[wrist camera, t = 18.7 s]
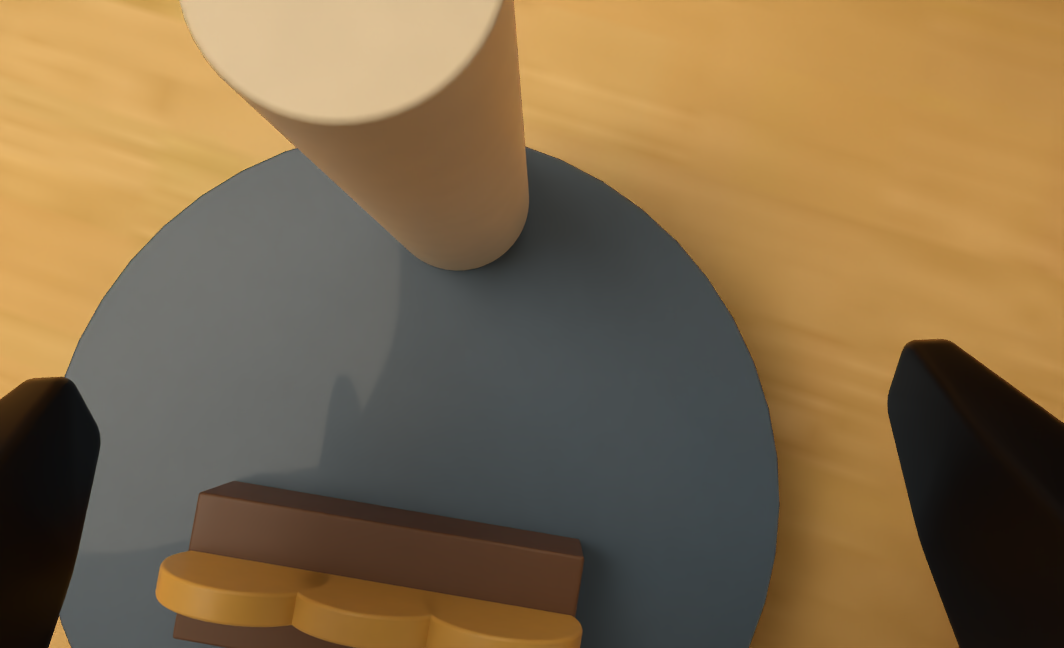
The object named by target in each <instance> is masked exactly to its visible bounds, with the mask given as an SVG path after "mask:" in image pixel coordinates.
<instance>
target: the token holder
mask: <svg viewBox="0 0 1064 648" xmlns="http://www.w3.org/2000/svg"><path fill="white" fill-rule="evenodd" d="M179 2H180V5H181V9H182V12H183V16H184V19H185V22H186V24H187V26H188V29H189V31H190V33H191V36H192V38H193V40H194V42H195V43H196V45H197V47H198V48H199V50H200V52H201V53H202V55H203V57H204V58H205V59H206V61H207V62H208V63H209V64H210V66H211V67H212V68H213V69H214V71H215V72H216V73H217V74H218V75H219V76H220V77H221V78H222V79H223V80H224V81H225V82H226V83H227V84H228V85H229V86H230V87H231V88H233V89H234V90H235V91H236V92H237V93H238V94H239V95H240V96H241V97H242V98H243V99H244V100H246V101H247V102H248V103H249V104H250V105H251V106H252V107H253V108H254V109H255V110H256V111H257V112H259V113H260V114H261V115H262V116H263V117H264V118H265V119H266V120H267V121H268V122H269V123H270V124H272V125H273V126H274V127H275V128H276V129H277V130H278V131H279V132H280V133H281V134H282V135H284V136H285V137H286V138H287V139H288V140H289V141H290V142H291V143H292V144H293V145H294V146H295V147H297V148H295V149H292V150H289V151H286V152H283V153H281V154H279V155H276V156H274V157H272V158H270V159H268V160H265V161H263V162H261V163H259V164H256V165H254V166H252V167H250V168H247V169H245V170H243V171H241V172H239V173H238V174H236V175H235V176H233V177H231V178H230V179H228V180H226V181H225V182H223V183H222V184H220V185H218V186H217V187H215V188H213V189H212V190H210V191H208V192H207V193H205V194H204V195H202V196H201V197H199V198H198V199H197V200H196V201H194V202H193V203H192V204H191V205H189V206H188V207H187V208H186V209H184V210H183V211H182V212H181V213H179V214H178V215H177V216H176V217H174V218H173V219H172V220H171V221H170V222H168V223H167V224H166V225H165V226H164V227H163V228H162V229H161V230H160V231H159V232H158V233H157V234H156V235H155V236H154V237H153V238H152V239H151V240H150V241H149V242H148V243H147V244H146V245H145V246H144V247H143V248H142V249H141V250H140V251H139V253H138V254H137V255H136V256H135V257H134V258H133V259H132V260H131V261H130V262H129V264H128V265H127V266H126V268H125V269H124V270H123V272H122V273H121V275H120V276H119V277H118V279H117V280H116V281H115V283H114V284H113V285H112V287H111V288H110V289H109V291H108V292H107V293H106V295H105V296H104V297H103V299H102V301H101V302H100V304H99V306H98V308H97V310H96V311H95V313H94V315H93V317H92V318H91V320H90V322H89V324H88V326H87V327H86V329H85V331H84V333H83V334H82V336H81V338H80V340H79V342H78V345H77V347H76V349H75V352H74V354H73V357H72V359H71V362H70V364H69V367H68V369H67V372H66V374H65V377H64V378H68V379H70V380H71V381H72V382H74V384H75V385H76V387H77V388H78V390H79V392H80V394H81V396H82V398H83V399H84V401H85V403H86V405H87V407H88V409H89V410H90V412H91V414H92V416H93V418H94V420H95V421H96V423H97V425H98V428H99V432H100V438H101V445H100V452H99V457H98V461H97V466H96V471H95V475H94V480H93V485H92V489H91V494H90V499H89V503H88V508H87V513H86V517H85V522H84V527H83V532H82V536H81V541H80V546H79V550H78V555H77V559H76V563H75V567H74V571H73V574H72V578H71V581H70V584H69V587H68V590H67V594H66V597H65V600H64V603H63V606H62V608H61V611H60V614H59V616H60V620H61V623H62V626H63V628H64V631H65V633H66V636H67V638H68V641H69V643H70V645H71V648H749V647H750V644H751V641H752V638H753V635H754V633H755V630H756V627H757V624H758V621H759V619H760V616H761V613H762V610H763V607H764V605H765V601H766V597H767V592H768V587H769V583H770V578H771V573H772V569H773V564H774V559H775V555H776V544H777V531H778V519H779V507H780V502H779V482H778V461H777V452H776V447H775V441H774V435H773V430H772V424H771V419H770V413H769V408H768V405H767V402H766V399H765V395H764V392H763V389H762V386H761V383H760V380H759V377H758V373H757V370H756V367H755V364H754V361H753V359H752V357H751V355H750V353H749V351H748V348H747V346H746V344H745V342H744V340H743V338H742V336H741V334H740V331H739V329H738V327H737V325H736V323H735V321H734V319H733V317H732V315H731V314H730V312H729V311H728V309H727V308H726V306H725V304H724V303H723V301H722V300H721V298H720V297H719V295H718V293H717V292H716V290H715V289H714V287H713V286H712V284H711V283H710V281H709V279H708V278H707V277H706V275H705V274H704V273H703V272H702V271H701V269H700V268H699V267H698V266H697V265H696V264H695V262H694V261H693V260H692V259H691V258H690V256H689V255H688V254H687V253H686V252H685V250H684V249H683V248H682V247H681V246H680V244H679V243H678V242H677V241H676V240H675V239H674V238H673V237H672V236H671V235H669V234H668V233H667V232H666V231H665V230H664V229H663V228H662V227H661V226H660V225H659V224H657V223H656V222H655V221H654V220H653V219H652V218H651V217H650V216H649V215H648V214H647V213H646V212H644V211H643V210H642V209H641V208H640V207H638V206H637V205H635V204H634V203H632V202H631V201H630V200H628V199H627V198H625V197H624V196H622V195H621V194H620V193H618V192H617V191H615V190H614V189H613V188H611V187H610V186H608V185H607V184H605V183H604V182H603V181H601V180H599V179H597V178H595V177H593V176H591V175H589V174H587V173H585V172H583V171H582V170H580V169H578V168H576V167H574V166H572V165H570V164H568V163H566V162H564V161H562V160H560V159H558V158H555V157H552V156H549V155H547V154H544V153H541V152H539V151H536V150H533V149H530V148H528V147H525V138H524V126H523V113H522V100H521V87H520V75H519V62H518V49H517V36H516V24H515V11H514V0H179Z"/></svg>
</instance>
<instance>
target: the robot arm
mask: <svg viewBox="0 0 1064 648" xmlns="http://www.w3.org/2000/svg"><path fill="white" fill-rule="evenodd" d="M888 414H889V419H890V423H891V427H892V431H893V435H894V439H895V444H896V448H897V452H898V456H899V460H900V464H901V468H902V472H903V476H904V480H905V485H906V489H907V493H908V497H909V501H910V505H911V509H912V513H913V517H914V521H915V525H916V528H917V532H918V536H919V539H920V542H921V545H922V548H923V551H924V554H925V557H926V560H927V562H928V565H929V568H930V570H931V573H932V576H933V578H934V581H935V584H936V586H937V589H938V592H939V594H940V597H941V600H942V602H943V605H944V608H945V610H946V613H947V616H948V618H949V621H950V624H951V626H952V629H953V632H954V634H955V637H956V640H957V642H958V645H959V648H1064V423H1063V422H1061V421H1060V420H1058V419H1057V418H1056V417H1054V416H1053V415H1052V414H1050V413H1049V412H1047V411H1046V410H1045V409H1043V408H1042V407H1041V406H1039V405H1038V404H1036V403H1035V402H1034V401H1032V400H1031V399H1030V398H1028V397H1027V396H1025V395H1024V394H1023V393H1021V392H1020V391H1019V390H1017V389H1016V388H1015V387H1013V386H1012V385H1010V384H1009V383H1008V382H1006V381H1005V380H1004V379H1002V378H1001V377H999V376H998V375H997V374H995V373H994V372H993V371H991V370H990V369H988V368H987V367H986V366H984V365H983V364H982V363H980V362H979V361H978V360H976V359H975V358H973V357H972V356H971V355H969V354H968V353H967V352H965V351H964V350H962V349H961V348H960V347H958V346H957V345H956V344H954V343H952V342H951V341H948V340H944V339H931V340H913V341H910V342H908V343H907V344H906V345H905V347H904V348H903V351H902V353H901V356H900V359H899V362H898V365H897V368H896V371H895V375H894V378H893V381H892V384H891V387H890V390H889V394H888ZM100 445H101V438H100V432H99V428H98V425H97V423H96V421H95V420H94V418H93V416H92V414H91V412H90V410H89V409H88V407H87V405H86V403H85V401H84V399H83V398H82V396H81V394H80V392H79V390H78V388H77V387H76V385H75V384H74V382H72V381H71V380H70V379H68V378H64V377H50V378H33V379H29V380H27V381H25V382H23V383H22V384H20V385H19V386H18V387H16V388H15V389H14V390H12V391H11V392H10V393H8V394H7V395H6V396H4V397H3V398H2V399H0V648H48V647H49V644H50V641H51V638H52V635H53V632H54V629H55V626H56V623H57V620H58V617H59V614H60V611H61V608H62V606H63V603H64V600H65V597H66V594H67V590H68V587H69V584H70V581H71V578H72V574H73V571H74V567H75V563H76V559H77V555H78V550H79V546H80V541H81V536H82V532H83V527H84V522H85V517H86V513H87V508H88V503H89V499H90V494H91V489H92V485H93V480H94V475H95V471H96V466H97V461H98V457H99V452H100Z"/></svg>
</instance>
